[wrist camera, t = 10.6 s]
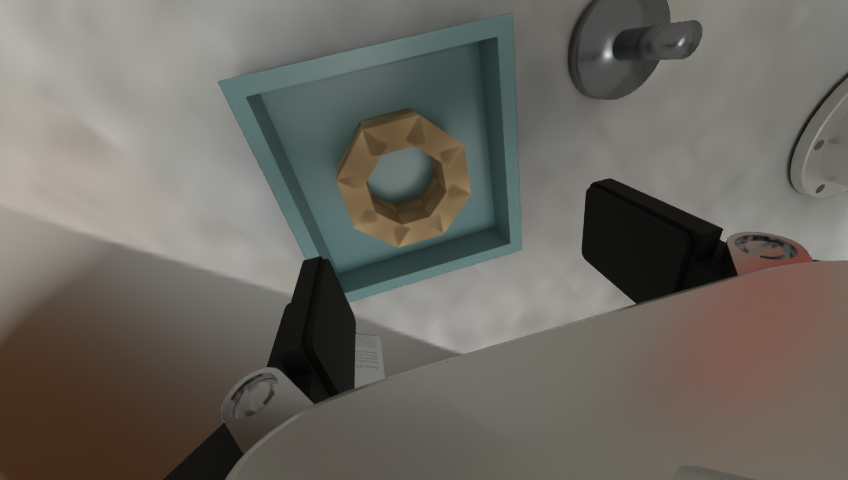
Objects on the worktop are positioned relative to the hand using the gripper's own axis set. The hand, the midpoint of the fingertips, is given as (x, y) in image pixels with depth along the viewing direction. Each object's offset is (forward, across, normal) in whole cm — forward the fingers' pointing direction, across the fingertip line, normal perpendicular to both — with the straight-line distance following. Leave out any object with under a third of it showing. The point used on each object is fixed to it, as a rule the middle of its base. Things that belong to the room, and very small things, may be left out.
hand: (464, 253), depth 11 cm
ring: (+10, +1, 0) cm, 10 cm away
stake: (+12, -14, -4) cm, 18 cm away
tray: (+11, +1, 0) cm, 11 cm away
